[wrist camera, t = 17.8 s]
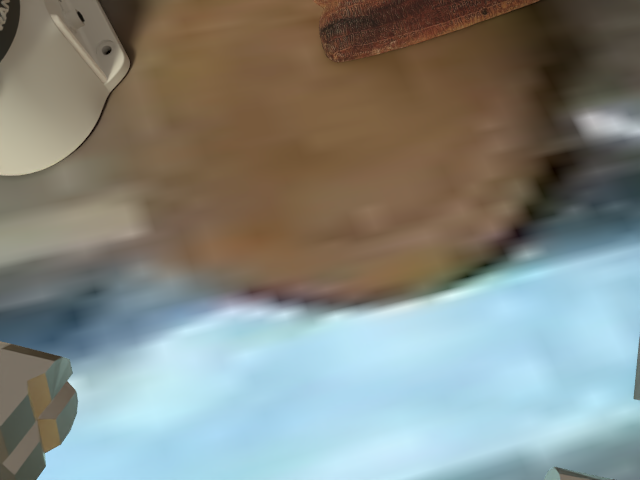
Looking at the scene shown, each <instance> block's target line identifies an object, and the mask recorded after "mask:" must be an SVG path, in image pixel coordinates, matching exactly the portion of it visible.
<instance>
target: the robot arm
mask: <svg viewBox="0 0 640 480" xmlns="http://www.w3.org/2000/svg"><path fill="white" fill-rule="evenodd" d="M109 50H111V53H110V54H108V55H105V54H106V52H107V51H109ZM129 67H130V60H129V58H128V56H127V54H126V52H125V50H124V48H123V46H122V44H121V42H120V41H119V39H118V37H117V35H116V33H115V31H114V29H113V27H112V25H111V24H110V22H109V20H108V18H107V16H106V14H105V12H104V10H103V8H102V7H101V5H100V3H99V1H98V0H0V175H23V174H29V173H33V172H37V171H40V170H42V169H45V168H47V167H50V166H52V165H54V164H56V163H57V162H59V161H61V160H62V159H64V158H65V157H67V156H68V155H69V154H71V153H72V152H73V151H74V150H75V149H76V148H77V147H79V145H80V144H81V143H82V142H83V141H84V140H85V139H86V138H87V136H88V135H89V134H90V132H91V131H92V129H93V128H94V126H95V124H96V122H97V121H98V118H99V116H100V114H101V111H102V109H103V106H104V103H105V101H106V99H107V97H108V95H109V93H110V92H111V91H112V90H113V89H114V88H115V86H116V85H117V84H118V83H119V82H120V81H121V80H122V79H123V77H124V76H125V75H126V73H127V72H128V70H129ZM72 374H73V372H72V367H71V363H70V359H67V358H64V357H61V356H57V355H53V354H49V353H45V352H41V351H37V350H33V349H29V348H25V347H21V346H17V345H13V344H9V343H5V342H0V480H36V479H37V478H38V477H39V475H40V474H41V472H42V471H43V469H44V468H45V467H46V462H45V453H46V452H48V451H50V450H52V449H53V448H55V447H57V446H59V445H61V444H62V442H63V441H64V439H65V438H66V436H67V435H68V433H69V432H70V430H71V427H72V425H73V422H74V419H75V417H76V414H77V405H78V399H77V393H76V391H75V389H74V388H73V387H72V386H71V385H70V384H69V383H68V381H67V380H68V379H69V378H70V376H71V375H72ZM544 480H615V479H610V478H605V477H600V476H596V475H591V474H586V473H582V472H577V471H572V470H567V469H563V468H558V467H552V468H551V469H550V470H548V472H547V474H546V476H545V478H544Z"/></svg>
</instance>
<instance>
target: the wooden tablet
mask: <svg viewBox="0 0 640 480" xmlns="http://www.w3.org/2000/svg"><path fill="white" fill-rule="evenodd" d="M313 1H314V2H315V3H316V4H318V5H319V6H321V7H322V8H323V10H324V11H323V12H322V15H321V17H320V21H319V23H320V24H319V29H320V37H321V41H322V45H323V49H324V51H325V53H326V56H327V57H328V58H329V59H331V60H332V61H334V62H344V61H350V60H355V59H359V58H364V57H369V56H373V55H377V54H381V53H384V52H388V51H391V50H395V49H399V48H403V47H407V46H410V45H413V44H417V43H420V42H423V41H426V40H429V39H432V38H435V37H438V36H441V35H444V34H447V33H450V32H453V31H456V30H460V29H463V28H465V27H468V26H471V25H473V24H476V23H478V22H481V21H484V20H487V19H490V18H493V17H495V16H499V15H501V14H504V13H508V12H510V11H512V10H515V9H518V8H521V7H524V6H527V5H529V4H532V3H535V2H537V1H540V0H313Z"/></svg>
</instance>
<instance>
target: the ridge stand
mask: <svg viewBox="0 0 640 480" xmlns="http://www.w3.org/2000/svg"><path fill="white" fill-rule="evenodd" d="M634 399H637V400H640V339H639V349H638V359H637V370H636V380H635V390H634Z"/></svg>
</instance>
